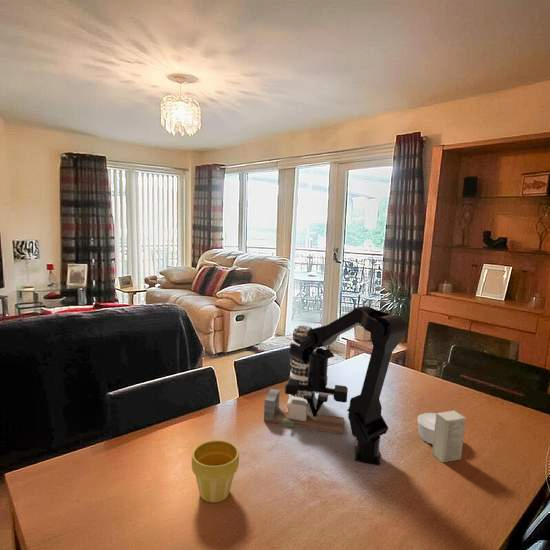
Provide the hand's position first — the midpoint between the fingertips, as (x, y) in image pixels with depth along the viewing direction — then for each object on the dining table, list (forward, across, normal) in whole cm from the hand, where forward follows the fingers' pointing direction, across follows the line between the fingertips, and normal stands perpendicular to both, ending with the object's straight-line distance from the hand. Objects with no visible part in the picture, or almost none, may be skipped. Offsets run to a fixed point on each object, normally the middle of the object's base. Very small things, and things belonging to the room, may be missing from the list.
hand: (314, 416), depth 118 cm
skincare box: (+2, -37, +7) cm, 38 cm away
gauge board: (+2, +3, 0) cm, 4 cm away
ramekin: (+2, -36, -2) cm, 36 cm away
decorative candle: (+2, +7, -17) cm, 19 cm away
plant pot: (+2, +18, +37) cm, 41 cm away
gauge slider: (+1, +5, +2) cm, 6 cm away
